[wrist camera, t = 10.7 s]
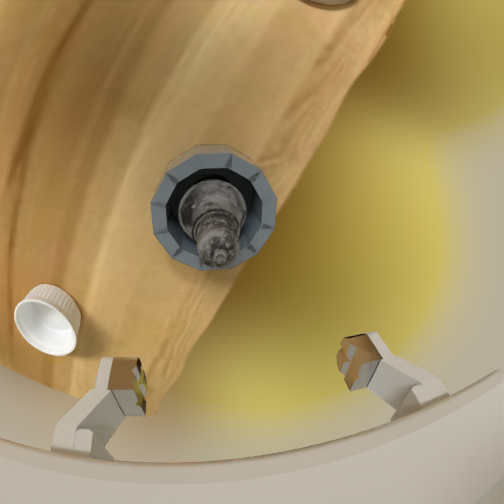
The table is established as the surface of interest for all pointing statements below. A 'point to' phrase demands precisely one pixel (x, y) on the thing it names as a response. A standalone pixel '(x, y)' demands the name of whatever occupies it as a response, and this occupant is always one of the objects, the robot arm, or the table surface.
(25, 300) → the ramekin
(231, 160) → the grey faceted cup
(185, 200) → the grey chess piece
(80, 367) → the table surface
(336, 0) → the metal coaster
